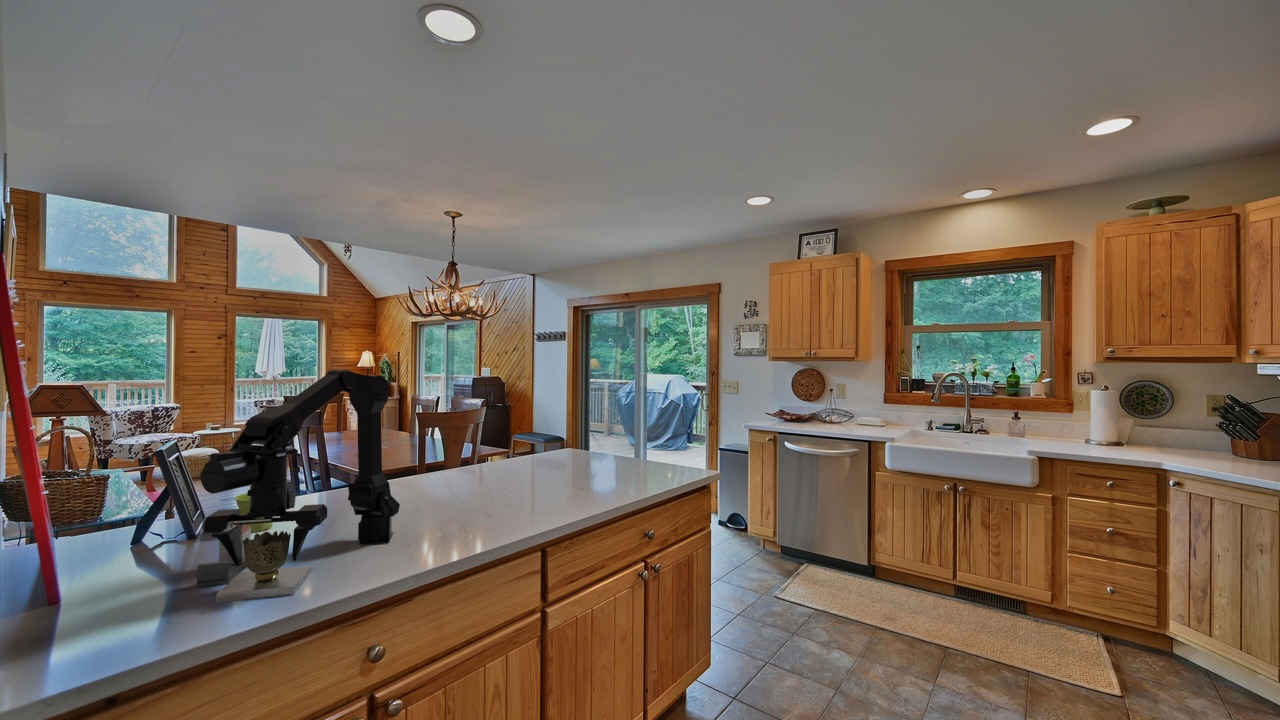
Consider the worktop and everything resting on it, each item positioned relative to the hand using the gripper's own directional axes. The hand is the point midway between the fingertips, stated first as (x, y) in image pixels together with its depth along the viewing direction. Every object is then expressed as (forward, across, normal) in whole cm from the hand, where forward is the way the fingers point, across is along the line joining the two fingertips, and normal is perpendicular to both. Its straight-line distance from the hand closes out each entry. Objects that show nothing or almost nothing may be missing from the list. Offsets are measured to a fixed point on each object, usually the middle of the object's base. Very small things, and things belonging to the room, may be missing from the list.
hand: (267, 563), depth 100 cm
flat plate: (+4, 0, 0) cm, 4 cm away
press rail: (+4, +10, -10) cm, 15 cm away
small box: (+3, +10, -13) cm, 17 cm away
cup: (+3, 0, 0) cm, 3 cm away
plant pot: (+5, +15, -39) cm, 42 cm away
